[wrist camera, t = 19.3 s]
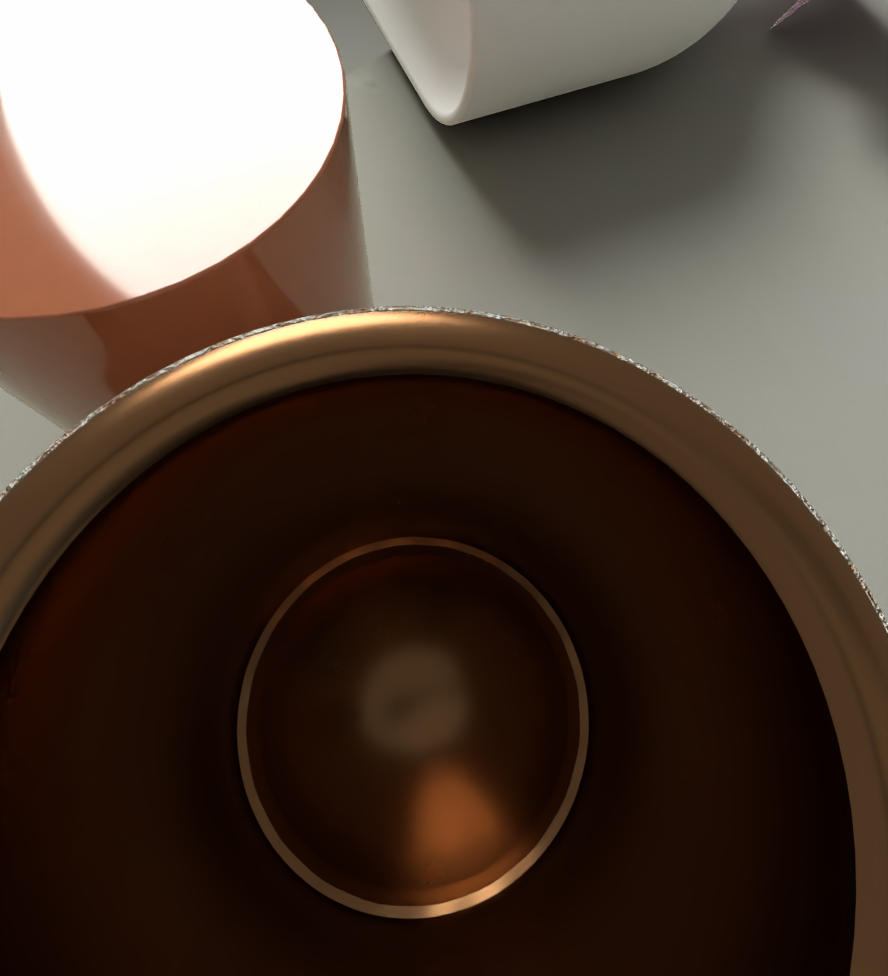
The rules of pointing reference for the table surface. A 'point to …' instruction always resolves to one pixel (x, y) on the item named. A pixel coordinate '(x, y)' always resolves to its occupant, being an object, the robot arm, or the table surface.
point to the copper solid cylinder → (166, 187)
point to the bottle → (531, 46)
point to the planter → (432, 674)
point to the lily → (791, 10)
